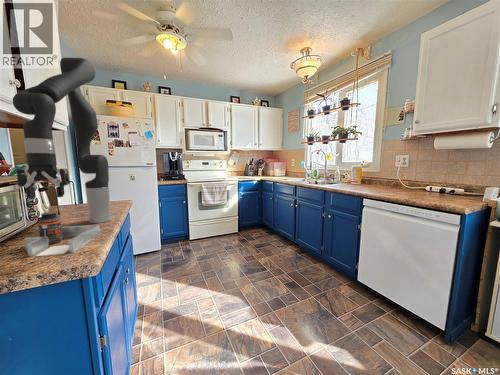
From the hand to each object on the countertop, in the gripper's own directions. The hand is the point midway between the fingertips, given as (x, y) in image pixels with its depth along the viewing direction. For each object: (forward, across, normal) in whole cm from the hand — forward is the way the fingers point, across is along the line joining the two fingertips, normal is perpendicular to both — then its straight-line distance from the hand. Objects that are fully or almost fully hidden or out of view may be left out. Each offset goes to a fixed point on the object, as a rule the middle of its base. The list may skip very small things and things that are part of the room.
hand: (46, 197), depth 75 cm
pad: (+17, -7, +9) cm, 20 cm away
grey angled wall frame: (+17, -4, +3) cm, 18 cm away
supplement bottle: (+17, 0, 0) cm, 17 cm away
